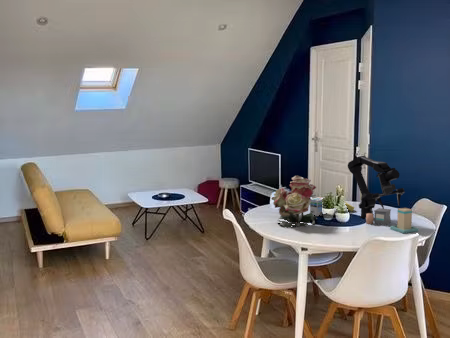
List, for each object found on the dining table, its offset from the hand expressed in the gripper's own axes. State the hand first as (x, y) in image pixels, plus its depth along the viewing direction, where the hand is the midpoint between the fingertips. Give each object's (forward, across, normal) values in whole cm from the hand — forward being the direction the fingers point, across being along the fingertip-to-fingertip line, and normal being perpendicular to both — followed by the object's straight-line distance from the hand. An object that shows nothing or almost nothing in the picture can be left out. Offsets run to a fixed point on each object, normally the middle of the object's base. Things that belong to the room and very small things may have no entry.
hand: (391, 207), depth 303 cm
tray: (+15, +3, -8) cm, 17 cm away
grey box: (+8, -7, +7) cm, 12 cm away
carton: (+14, +3, -8) cm, 17 cm away
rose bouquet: (-2, -58, -1) cm, 59 cm away
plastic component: (-7, -29, +41) cm, 51 cm away
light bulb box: (-6, -44, +24) cm, 51 cm away
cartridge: (+7, -14, +4) cm, 16 cm away
